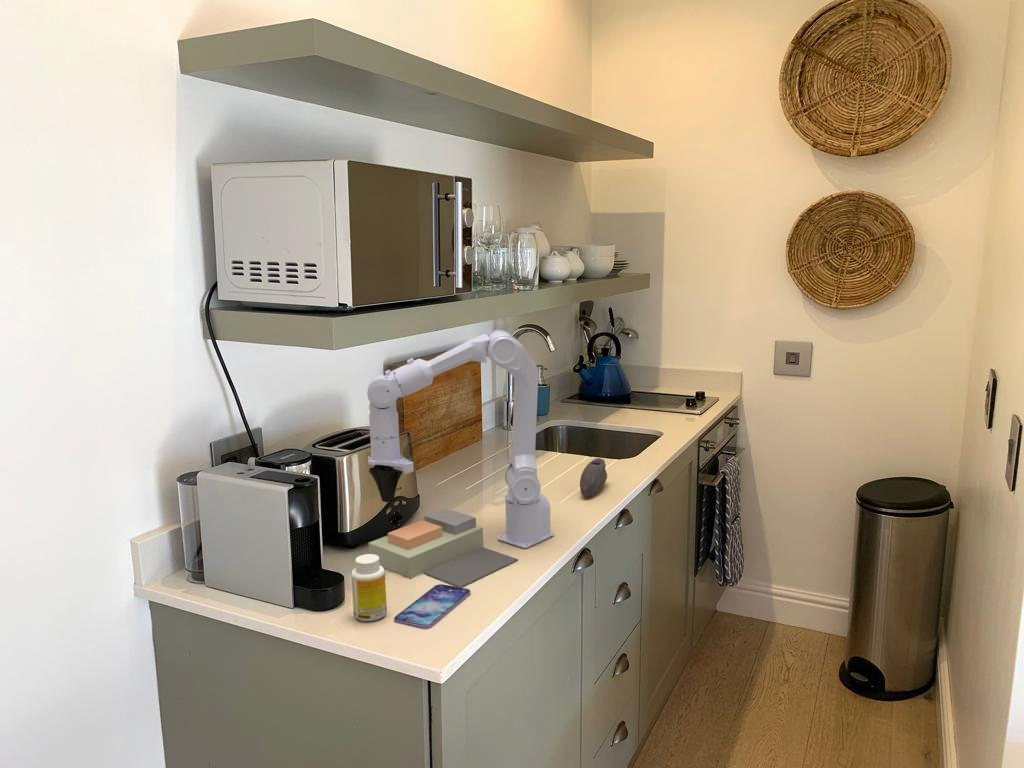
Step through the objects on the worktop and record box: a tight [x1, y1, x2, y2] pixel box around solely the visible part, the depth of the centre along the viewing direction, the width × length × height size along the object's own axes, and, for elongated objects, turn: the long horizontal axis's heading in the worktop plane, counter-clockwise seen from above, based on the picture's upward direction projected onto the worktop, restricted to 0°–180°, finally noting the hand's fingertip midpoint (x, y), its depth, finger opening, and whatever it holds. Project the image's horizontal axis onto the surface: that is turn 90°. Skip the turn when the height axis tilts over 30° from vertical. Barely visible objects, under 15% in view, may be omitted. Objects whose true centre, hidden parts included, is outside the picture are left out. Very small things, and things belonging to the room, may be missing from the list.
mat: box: [423, 546, 519, 588], centre depth 154 cm, size 16×10×1 cm, turn 138°
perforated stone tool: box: [579, 457, 608, 498], centre depth 196 cm, size 15×5×7 cm, turn 157°
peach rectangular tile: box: [387, 519, 443, 550], centre depth 157 cm, size 9×6×2 cm, turn 138°
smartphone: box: [393, 583, 471, 630], centre depth 138 cm, size 7×1×15 cm
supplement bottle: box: [351, 553, 388, 622], centre depth 134 cm, size 6×6×10 cm
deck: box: [368, 525, 484, 579], centre depth 160 cm, size 20×12×4 cm, turn 138°
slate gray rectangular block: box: [423, 507, 477, 535], centre depth 164 cm, size 9×6×2 cm, turn 48°
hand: (388, 500), depth 162 cm, fingers closed
